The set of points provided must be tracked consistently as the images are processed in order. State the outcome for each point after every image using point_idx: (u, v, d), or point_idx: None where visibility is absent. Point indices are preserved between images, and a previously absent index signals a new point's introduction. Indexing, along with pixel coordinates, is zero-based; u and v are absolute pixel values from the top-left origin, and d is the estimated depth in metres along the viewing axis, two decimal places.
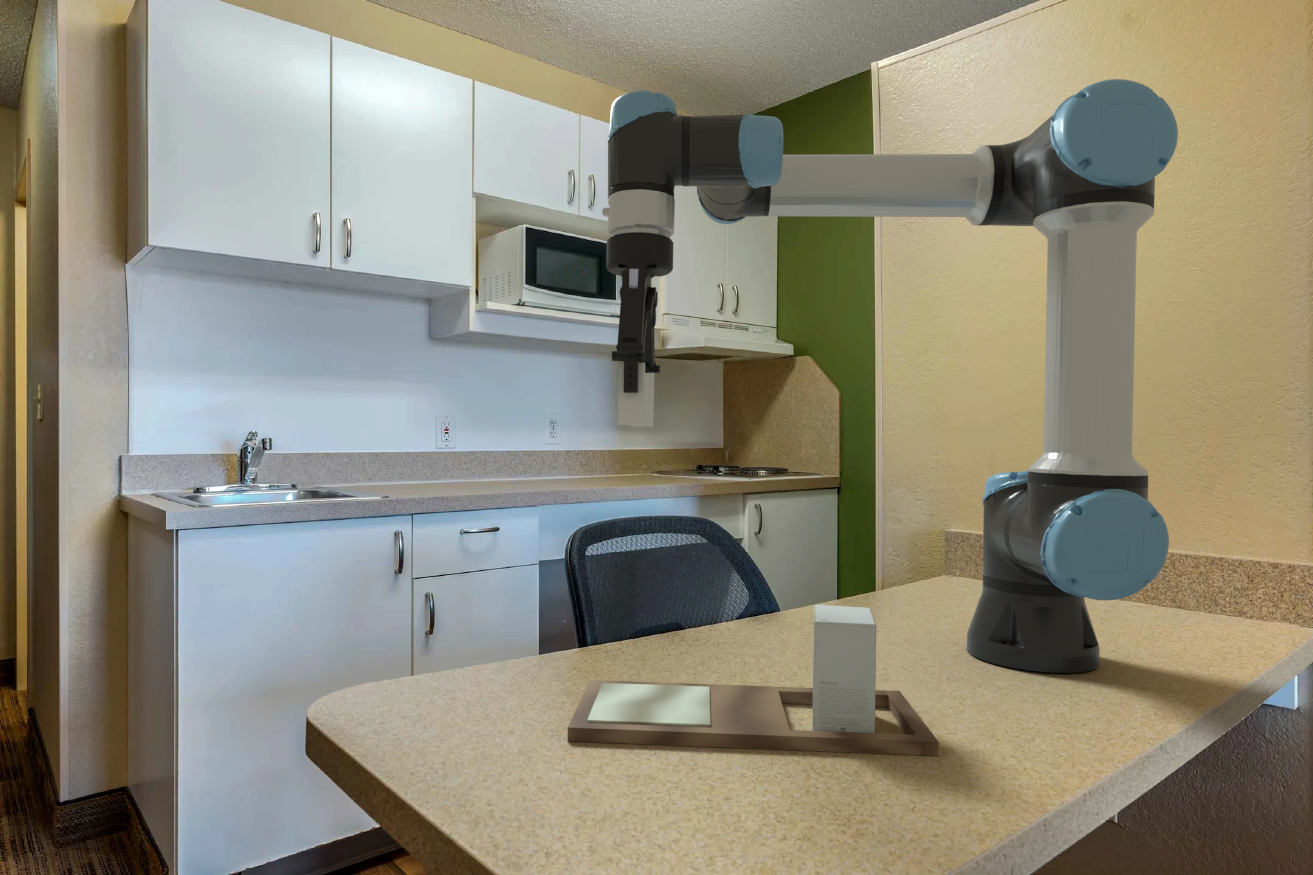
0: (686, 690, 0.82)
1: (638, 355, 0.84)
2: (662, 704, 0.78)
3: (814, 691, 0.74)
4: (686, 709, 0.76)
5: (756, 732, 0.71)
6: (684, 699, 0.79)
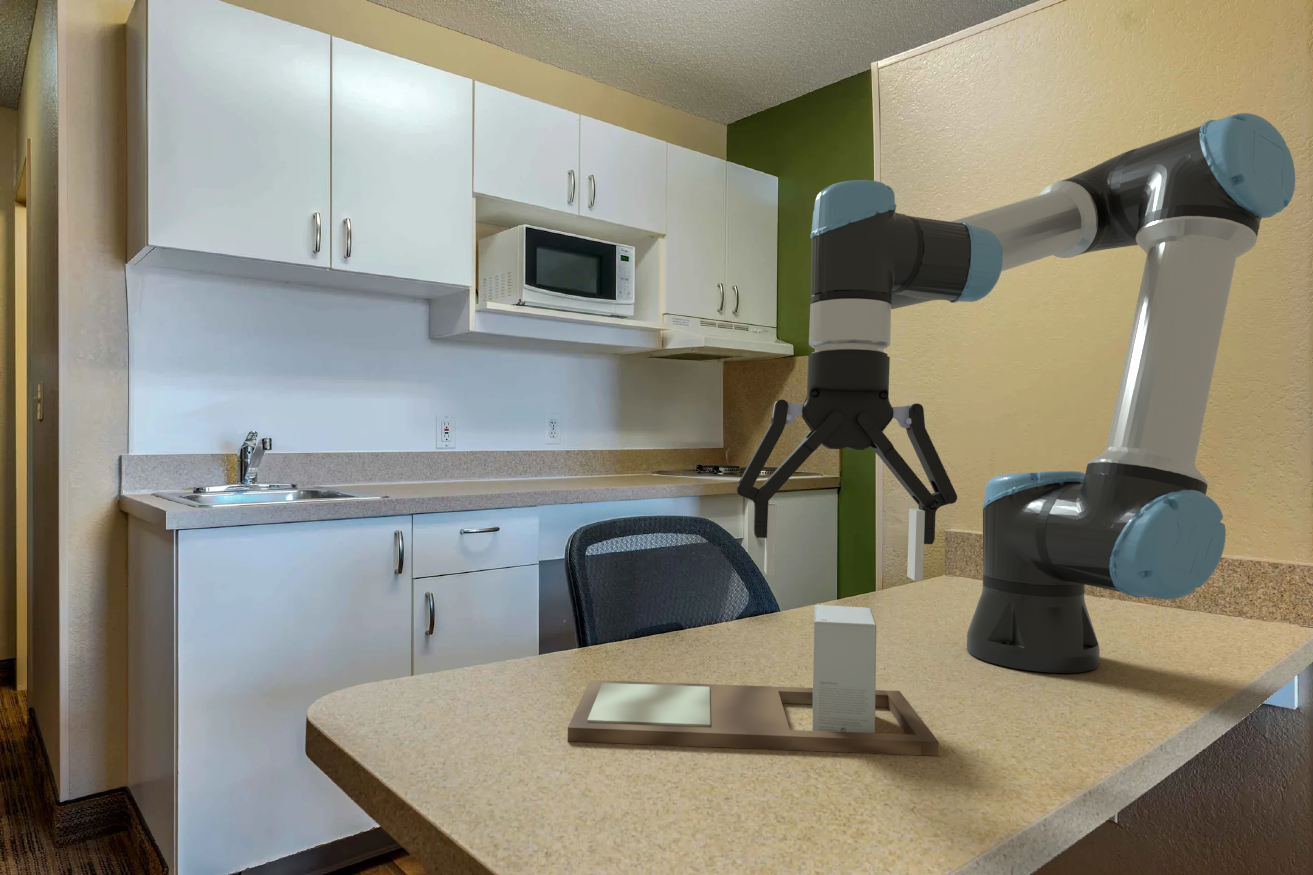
0: (686, 690, 0.82)
1: (755, 497, 0.77)
2: (662, 704, 0.78)
3: (814, 691, 0.74)
4: (686, 709, 0.76)
5: (756, 732, 0.71)
6: (684, 699, 0.79)
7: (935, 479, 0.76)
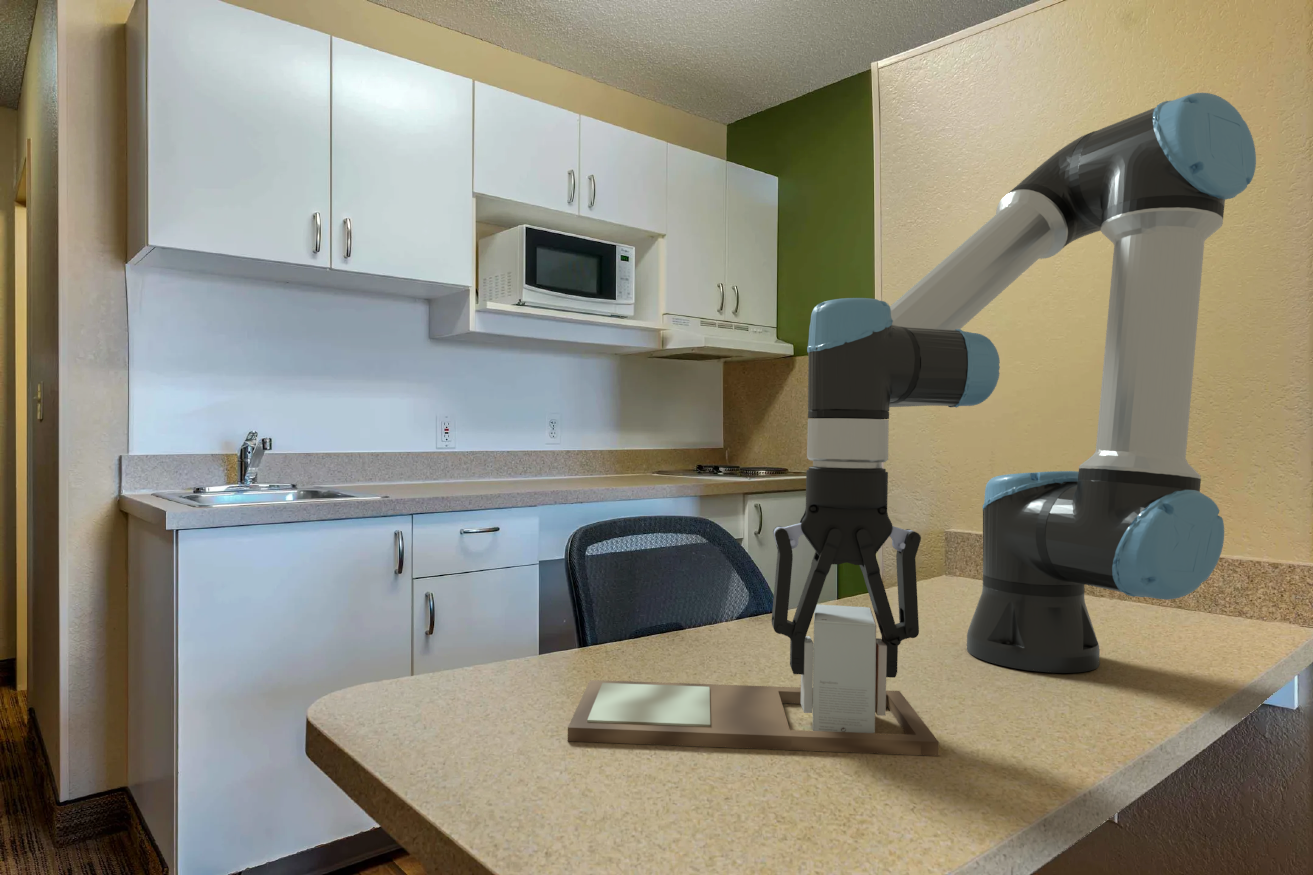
0: (686, 690, 0.82)
1: (791, 634, 0.77)
2: (662, 704, 0.78)
3: (814, 691, 0.74)
4: (686, 709, 0.76)
5: (756, 732, 0.71)
6: (684, 699, 0.79)
7: (905, 609, 0.76)
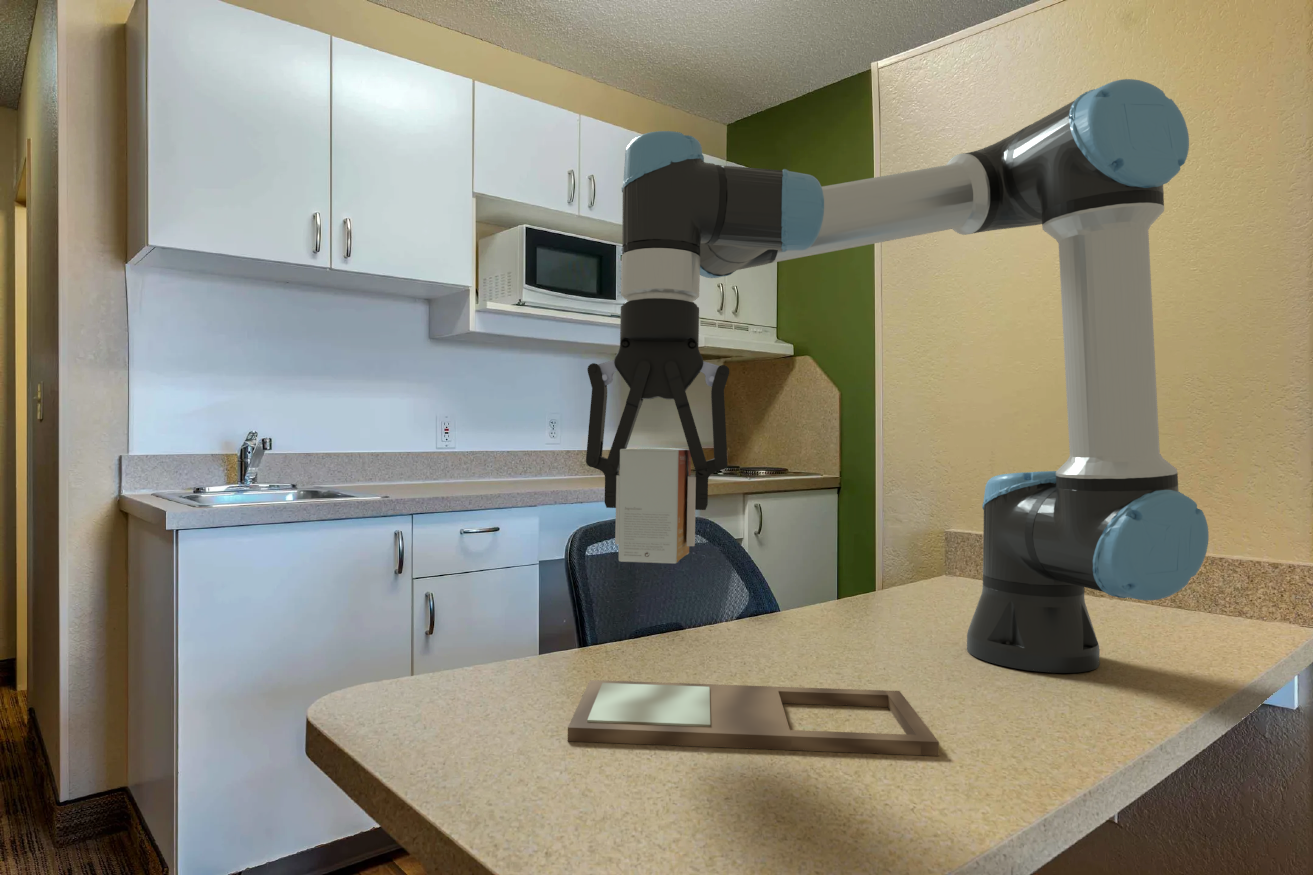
0: (686, 690, 0.82)
1: (604, 468, 0.78)
2: (662, 704, 0.78)
3: (620, 518, 0.75)
4: (686, 709, 0.76)
5: (756, 732, 0.71)
6: (684, 699, 0.79)
7: (714, 441, 0.77)
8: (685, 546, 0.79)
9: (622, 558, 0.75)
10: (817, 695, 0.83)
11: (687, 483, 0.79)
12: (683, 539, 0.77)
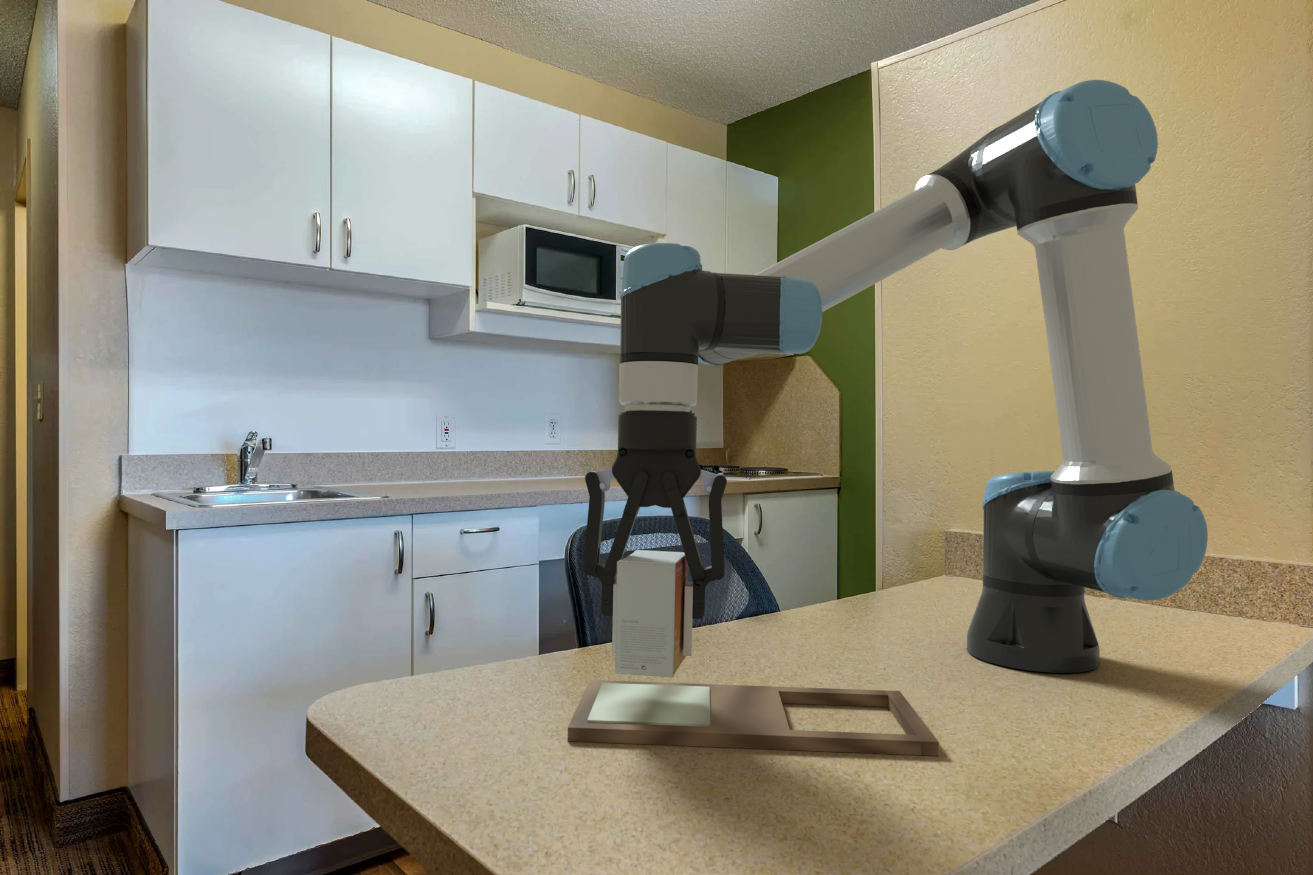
0: (686, 690, 0.82)
1: (601, 576, 0.78)
2: (662, 704, 0.78)
3: (616, 630, 0.75)
4: (686, 709, 0.76)
5: (756, 732, 0.71)
6: (684, 699, 0.79)
7: (711, 551, 0.77)
8: (682, 653, 0.79)
9: (619, 670, 0.75)
10: (817, 695, 0.83)
11: (684, 590, 0.79)
12: (680, 648, 0.77)
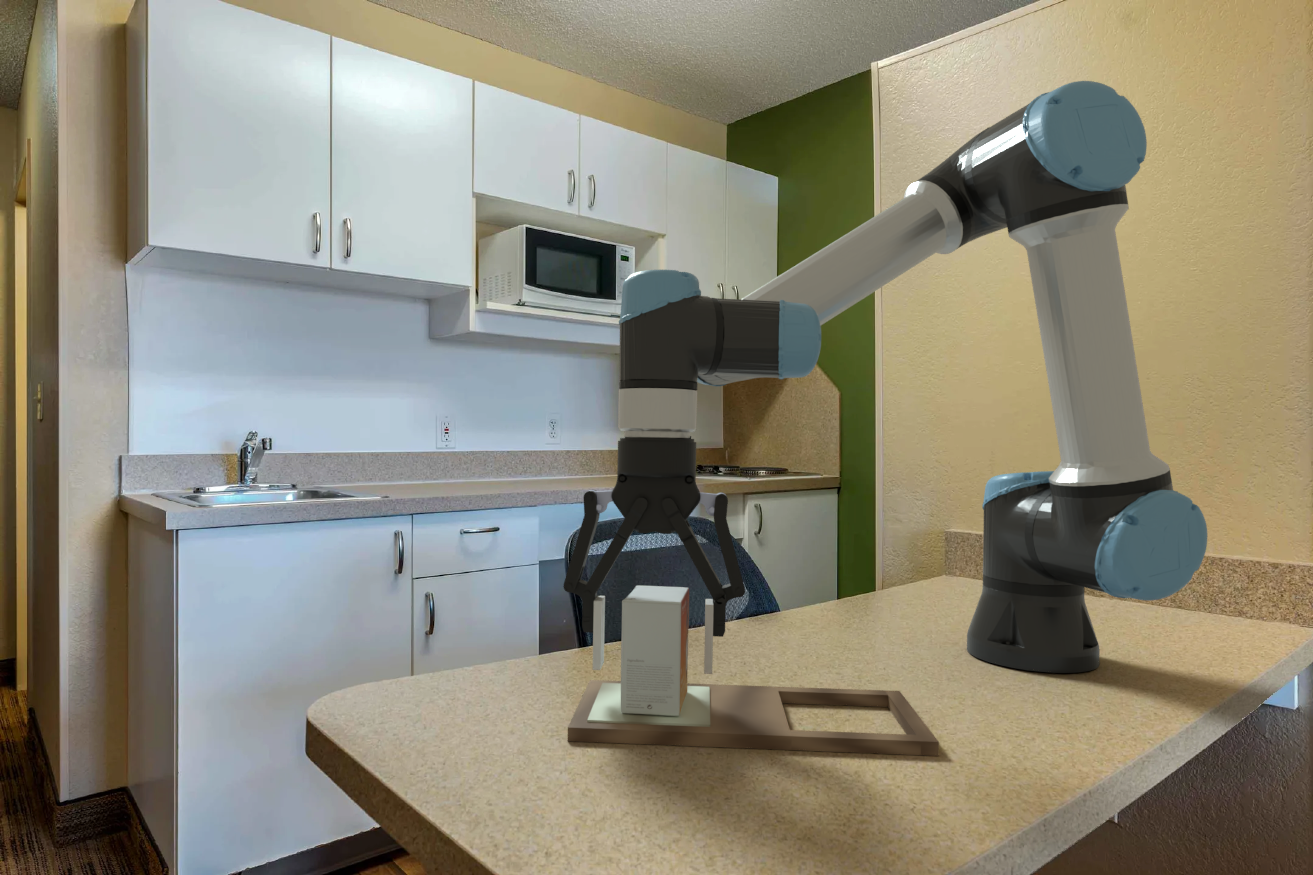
0: None
1: (582, 592, 0.78)
2: None
3: (622, 669, 0.75)
4: (686, 709, 0.76)
5: (756, 732, 0.71)
6: (684, 699, 0.79)
7: (727, 570, 0.77)
8: (685, 689, 0.79)
9: (625, 710, 0.75)
10: (817, 695, 0.83)
11: (687, 626, 0.79)
12: (684, 684, 0.78)
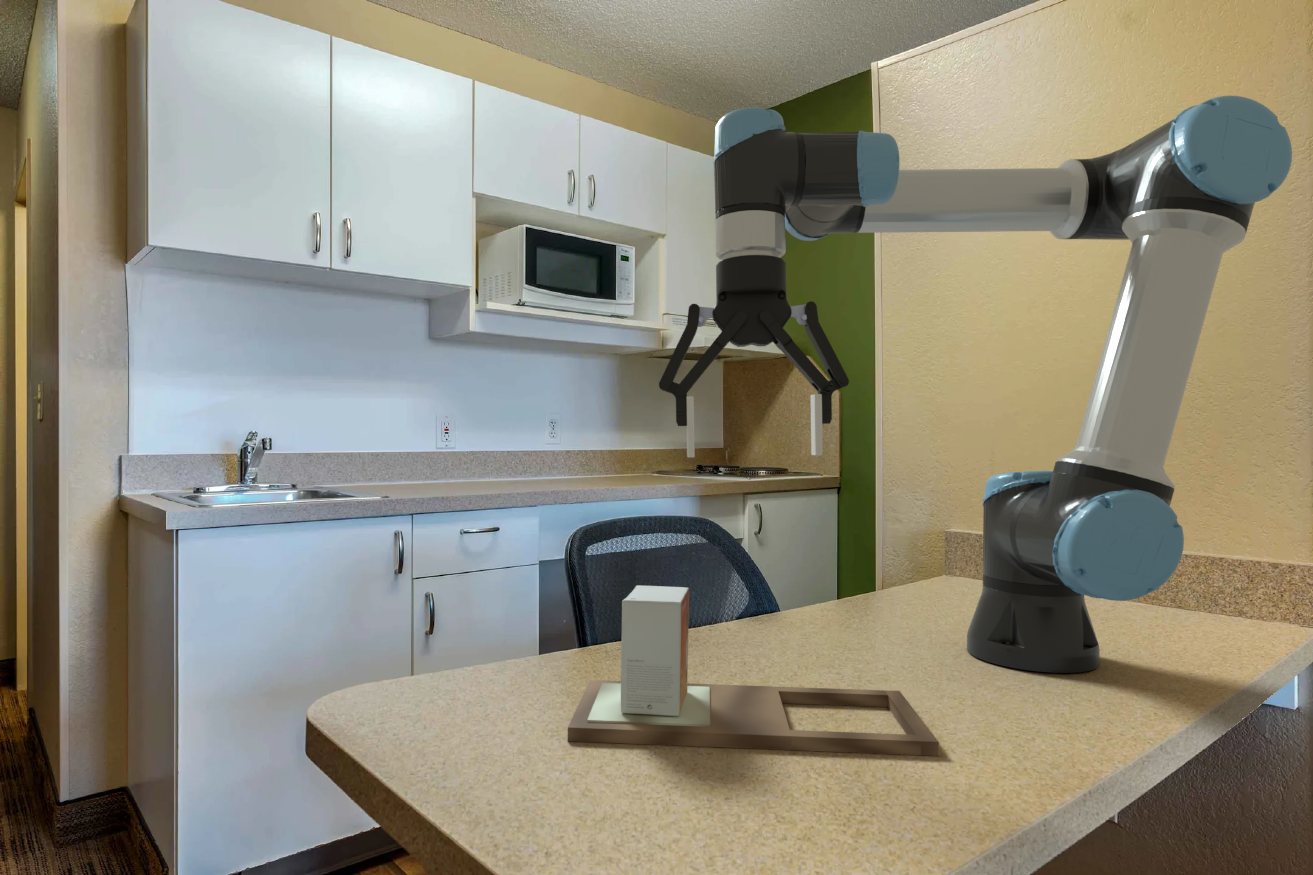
0: None
1: (675, 391, 0.88)
2: None
3: (622, 669, 0.75)
4: (686, 709, 0.76)
5: (756, 732, 0.71)
6: (684, 699, 0.79)
7: (829, 366, 0.87)
8: (685, 689, 0.79)
9: (625, 710, 0.75)
10: (817, 695, 0.83)
11: (687, 626, 0.79)
12: (684, 684, 0.78)
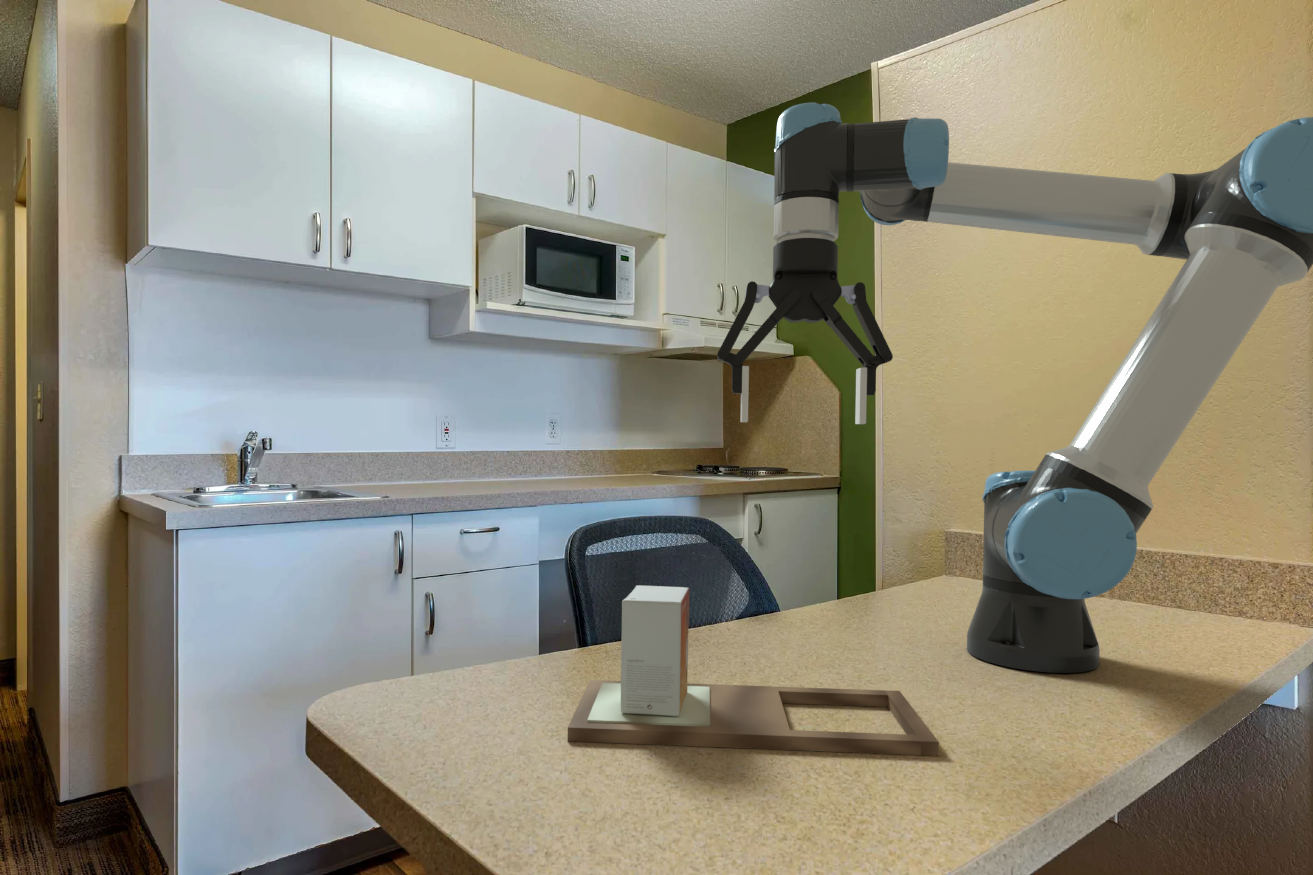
0: None
1: (732, 360, 0.96)
2: None
3: (622, 669, 0.75)
4: (686, 709, 0.76)
5: (756, 732, 0.71)
6: (684, 699, 0.79)
7: (875, 342, 0.95)
8: (685, 689, 0.79)
9: (625, 710, 0.75)
10: (817, 695, 0.83)
11: (687, 626, 0.79)
12: (684, 684, 0.78)
